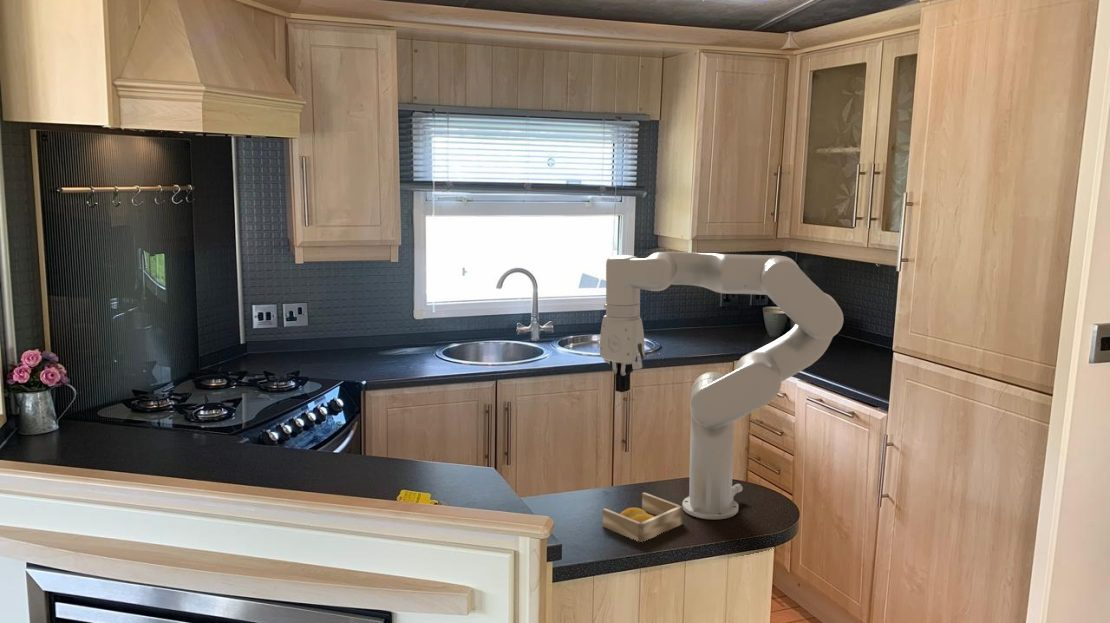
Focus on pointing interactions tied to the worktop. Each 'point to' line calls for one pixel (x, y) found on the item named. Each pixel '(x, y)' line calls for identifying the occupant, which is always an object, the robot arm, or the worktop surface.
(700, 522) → the worktop surface
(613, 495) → the worktop surface
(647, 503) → the holder
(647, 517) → the bread roll
